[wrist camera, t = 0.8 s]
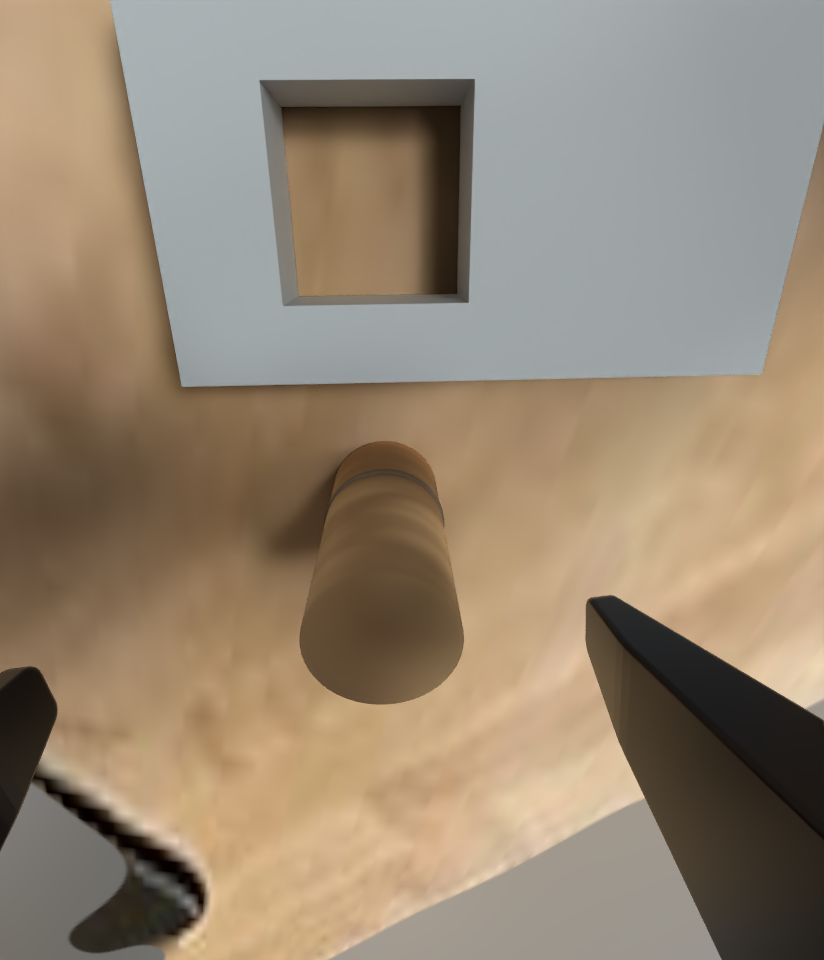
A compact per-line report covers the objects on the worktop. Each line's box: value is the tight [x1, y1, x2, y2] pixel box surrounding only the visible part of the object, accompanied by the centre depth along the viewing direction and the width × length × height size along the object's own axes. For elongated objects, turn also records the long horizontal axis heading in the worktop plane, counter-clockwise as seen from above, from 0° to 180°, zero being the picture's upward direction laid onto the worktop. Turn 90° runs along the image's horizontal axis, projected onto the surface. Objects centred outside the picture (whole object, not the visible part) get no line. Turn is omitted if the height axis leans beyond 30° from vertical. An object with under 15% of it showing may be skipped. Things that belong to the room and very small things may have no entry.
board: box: [110, 0, 824, 387], centre depth 16 cm, size 18×10×3 cm, turn 91°
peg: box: [300, 441, 464, 704], centre depth 17 cm, size 4×4×9 cm
